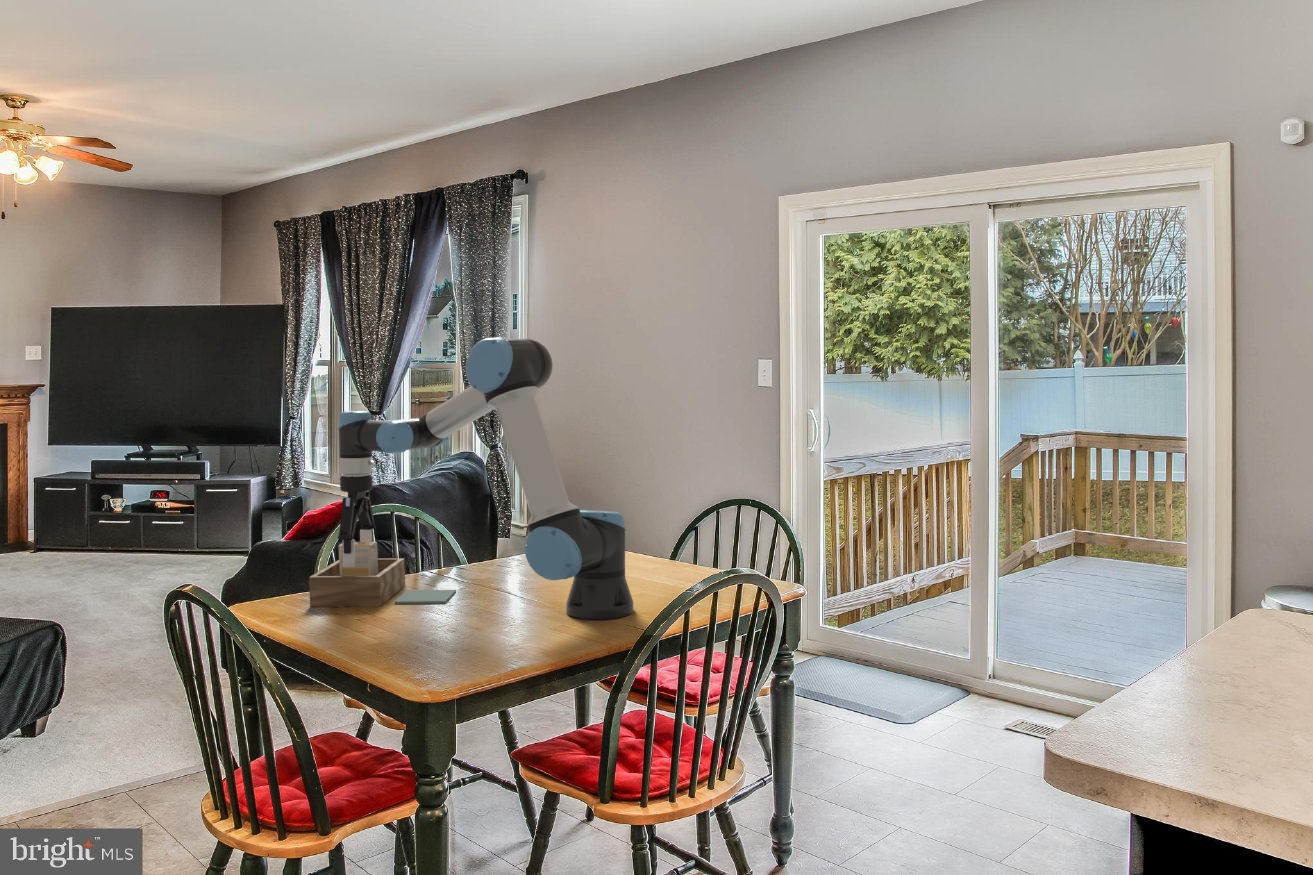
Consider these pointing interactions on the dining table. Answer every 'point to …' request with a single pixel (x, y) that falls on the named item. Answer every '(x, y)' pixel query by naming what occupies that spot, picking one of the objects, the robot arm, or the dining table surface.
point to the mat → (425, 597)
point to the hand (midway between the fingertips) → (357, 561)
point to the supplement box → (361, 560)
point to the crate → (357, 585)
